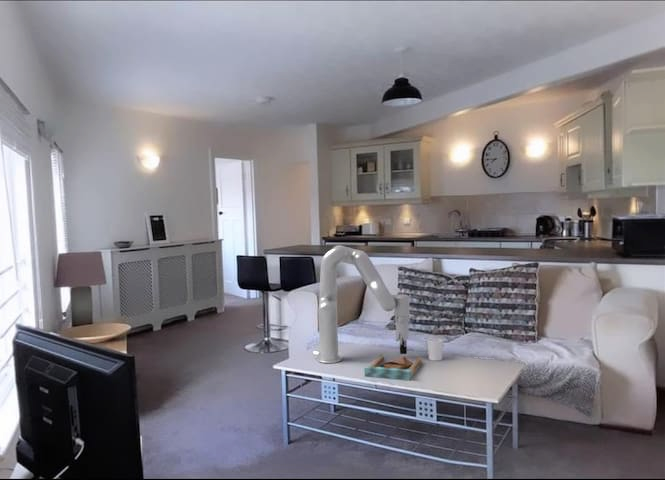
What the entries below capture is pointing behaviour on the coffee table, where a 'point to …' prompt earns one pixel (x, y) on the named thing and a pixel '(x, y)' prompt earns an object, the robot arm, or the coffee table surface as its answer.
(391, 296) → the robot arm
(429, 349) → the white cup
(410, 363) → the brown elongated piece
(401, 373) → the teal open box
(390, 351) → the coffee table surface
